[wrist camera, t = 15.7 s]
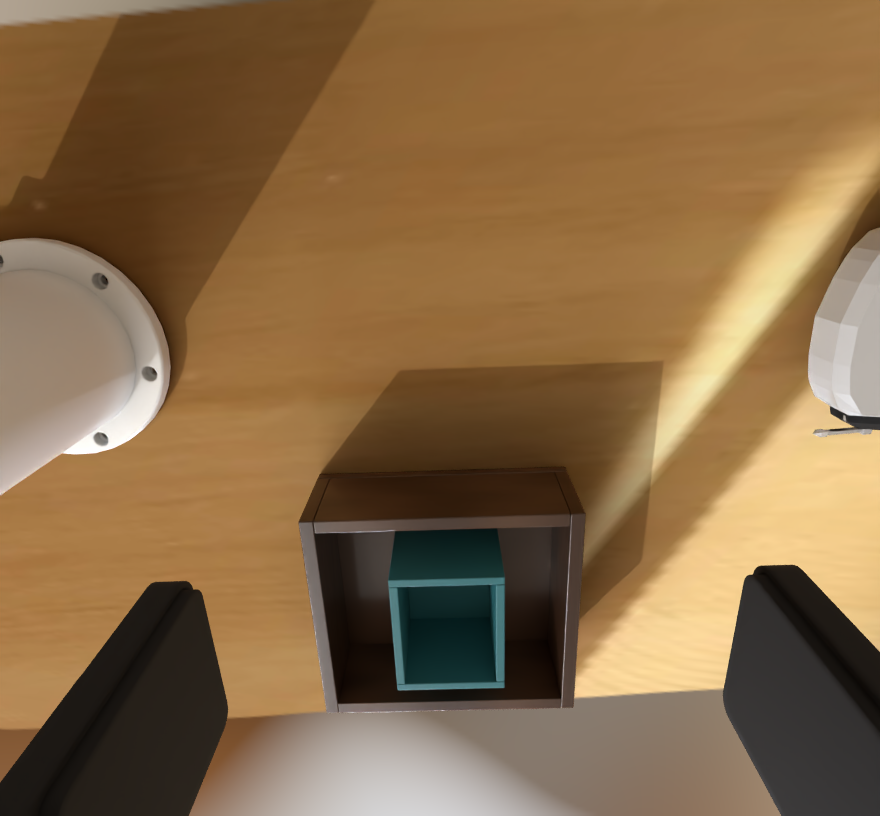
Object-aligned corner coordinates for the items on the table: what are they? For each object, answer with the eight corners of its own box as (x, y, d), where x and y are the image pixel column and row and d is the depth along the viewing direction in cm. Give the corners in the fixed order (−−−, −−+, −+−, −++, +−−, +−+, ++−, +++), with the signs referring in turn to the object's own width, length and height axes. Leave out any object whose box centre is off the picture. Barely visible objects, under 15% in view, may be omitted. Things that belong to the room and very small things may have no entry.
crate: (341, 647, 41) (326, 713, 36) (319, 473, 36) (298, 522, 31) (557, 641, 41) (573, 708, 35) (565, 466, 36) (586, 513, 30)
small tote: (496, 617, 39) (504, 688, 34) (404, 619, 39) (397, 690, 34) (495, 517, 36) (505, 577, 31) (396, 520, 36) (387, 580, 31)
